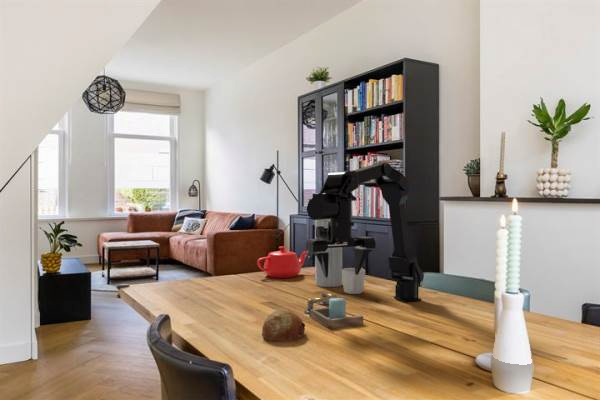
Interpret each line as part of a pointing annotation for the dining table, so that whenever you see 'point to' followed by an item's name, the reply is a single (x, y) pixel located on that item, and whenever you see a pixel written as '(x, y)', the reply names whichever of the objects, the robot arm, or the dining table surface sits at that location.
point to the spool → (337, 308)
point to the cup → (353, 280)
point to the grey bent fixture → (319, 300)
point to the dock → (333, 323)
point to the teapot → (282, 263)
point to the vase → (333, 265)
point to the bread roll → (283, 326)
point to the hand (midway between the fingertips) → (341, 275)
